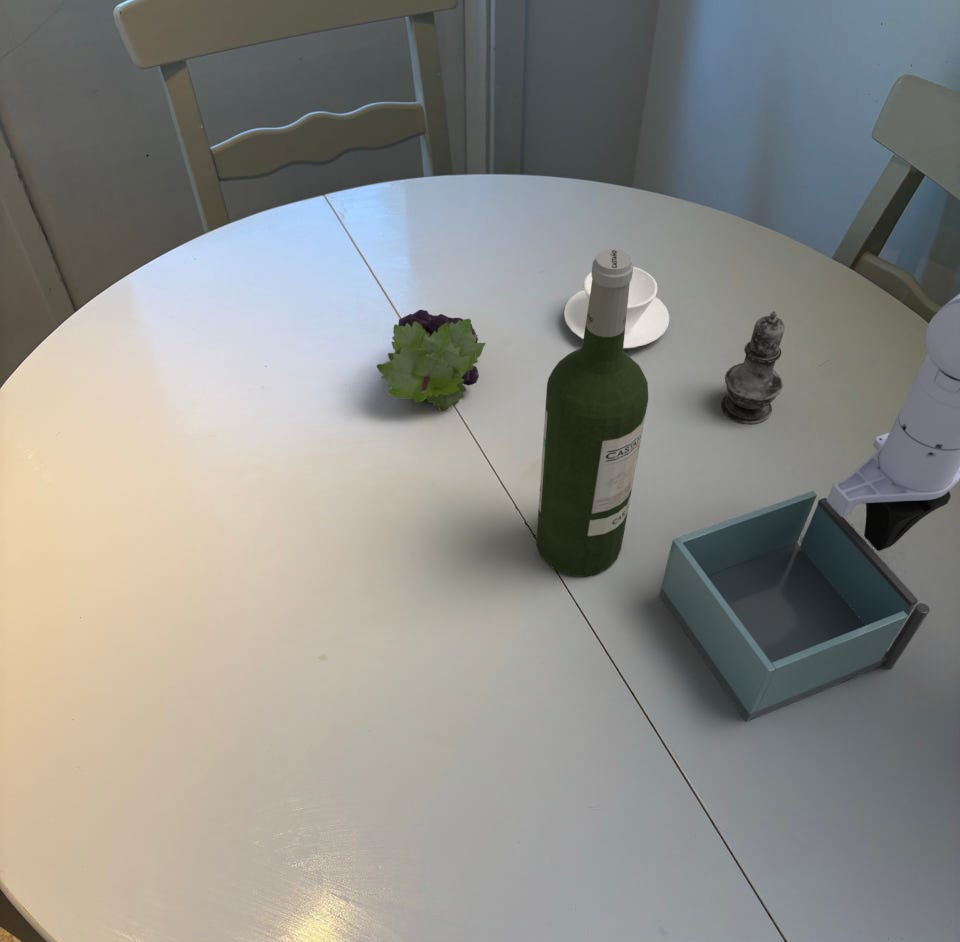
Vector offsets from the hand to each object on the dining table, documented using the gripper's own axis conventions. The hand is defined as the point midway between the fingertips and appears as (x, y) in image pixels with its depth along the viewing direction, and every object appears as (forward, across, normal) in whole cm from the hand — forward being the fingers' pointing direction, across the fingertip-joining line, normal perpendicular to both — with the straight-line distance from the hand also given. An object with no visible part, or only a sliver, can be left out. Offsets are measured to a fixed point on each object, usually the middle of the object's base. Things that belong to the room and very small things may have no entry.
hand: (877, 541), depth 80 cm
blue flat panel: (+3, +4, +2) cm, 5 cm away
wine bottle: (+4, +22, -13) cm, 26 cm away
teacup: (+4, +3, -41) cm, 41 cm away
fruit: (+4, +26, -39) cm, 47 cm away
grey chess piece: (+4, -3, -23) cm, 24 cm away
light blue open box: (+4, +11, +2) cm, 12 cm away
